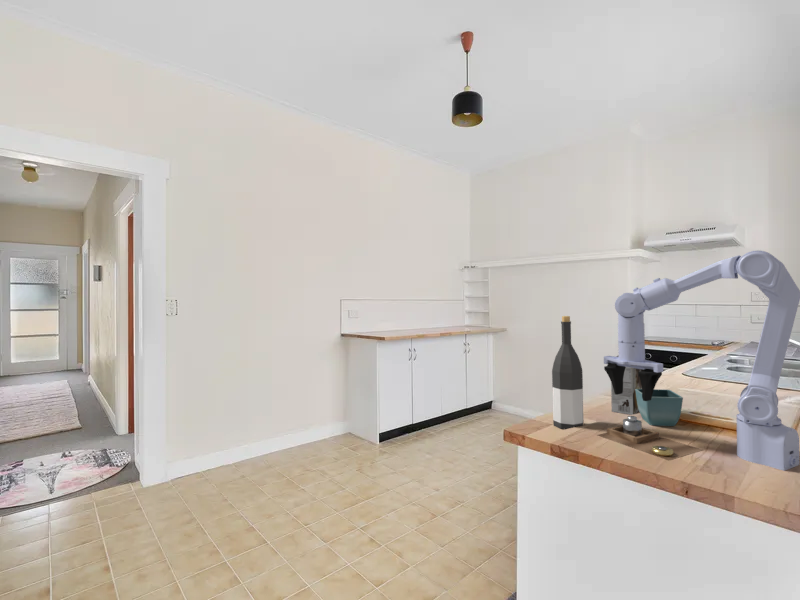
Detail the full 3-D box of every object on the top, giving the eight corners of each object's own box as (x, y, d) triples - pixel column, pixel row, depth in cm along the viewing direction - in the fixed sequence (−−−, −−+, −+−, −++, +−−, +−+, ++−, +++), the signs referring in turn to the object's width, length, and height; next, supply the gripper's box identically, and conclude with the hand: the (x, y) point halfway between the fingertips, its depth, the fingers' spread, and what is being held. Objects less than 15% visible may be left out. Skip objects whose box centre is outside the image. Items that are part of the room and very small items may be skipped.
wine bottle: (547, 425, 117) (544, 316, 116) (562, 419, 122) (559, 315, 121) (575, 432, 111) (572, 317, 110) (589, 425, 116) (587, 315, 115)
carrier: (703, 454, 94) (703, 444, 94) (668, 465, 89) (668, 454, 89) (629, 431, 111) (629, 422, 111) (596, 439, 106) (596, 430, 106)
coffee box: (620, 405, 135) (619, 354, 134) (643, 408, 130) (642, 356, 130) (610, 411, 128) (609, 358, 128) (634, 415, 124) (633, 360, 123)
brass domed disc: (677, 454, 92) (677, 449, 92) (665, 458, 90) (665, 452, 90) (659, 448, 96) (659, 443, 96) (647, 452, 94) (647, 446, 94)
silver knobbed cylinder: (645, 436, 103) (645, 417, 103) (634, 439, 102) (633, 420, 102) (631, 431, 107) (630, 413, 107) (619, 434, 105) (619, 416, 105)
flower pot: (684, 432, 109) (684, 397, 108) (646, 430, 110) (646, 396, 110) (670, 421, 117) (669, 389, 117) (635, 420, 119) (634, 388, 119)
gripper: (594, 340, 109) (596, 392, 110) (648, 346, 96) (649, 406, 96) (613, 338, 112) (614, 389, 113) (668, 343, 99) (669, 401, 99)
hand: (632, 396), depth 105 cm, fingers open, 7 cm apart
